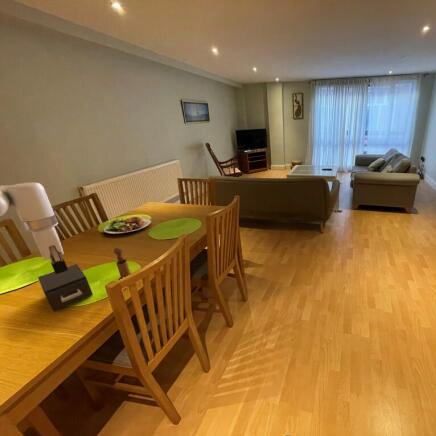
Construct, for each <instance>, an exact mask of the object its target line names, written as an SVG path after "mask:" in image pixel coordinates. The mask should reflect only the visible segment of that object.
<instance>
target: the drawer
mask: <svg viewBox="0 0 436 436" xmlns="http://www.w3.org/2000/svg"><path fill="white" fill-rule="evenodd" d="M47 295H48V297H49V299H50V301H51V303H52V305H53V307H54V309H55V310H56V311H58V309H59V310H61V309H63V308H66V307H68V306H70V305H72V303H73V304H75V303H77V302H76V301H78V302H80V301H82V300H84V298H85V299H87V298H89V297H91V293H90V290H89V288H88V285H87V283H86V280H85V279H83V280H79V281H77V282H74V283H72V284H70V285H67V286H64V287H62V288H58V289H55V290H53V291H50V292H49V293H47ZM88 296H89V297H88ZM86 297H87V298H86ZM81 299H82V300H81ZM79 300H80V301H79ZM74 302H75V303H74ZM69 304H70V305H69ZM67 305H68V306H67ZM65 306H66V307H65ZM62 307H63V308H62ZM60 308H61V309H60Z"/></svg>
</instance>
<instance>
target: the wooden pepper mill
mask: <svg viewBox="0 0 436 436" xmlns="http://www.w3.org/2000/svg"><path fill="white" fill-rule="evenodd" d="M113 253H114V254H115V255H116V256H117V257H116V259H117V261H116V263H115V264H116V267H117V269H118V273H119V277H118V279H117V281H118V280H120V279H122V278H123V277H126V276H128V275H130V274H132V273H131V270H130V267H129V263H128V260H127V259H125V258H124V255H122V253H123V248H122V247H120V246H117V247H115V248H114V249H113Z"/></svg>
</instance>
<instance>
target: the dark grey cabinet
mask: <svg viewBox="0 0 436 436" xmlns="http://www.w3.org/2000/svg"><path fill="white" fill-rule="evenodd" d="M67 268H68V270H67V271H65V272H62V273H59V274H56V273H55V271H54V270H53V271H52V272H49V273H45V274H43V275H40V276H38V277H37V278H38V281H39V283H40V286H41V289H42V291H43V294H44V296H45V298H46V300H47V302H48V304H49V306H50V308H51V310H52V312H56V311H58V310H62V309H63V308H66V307H69V306H70V305H72V304H75V303H77V302H80V301H82V300H84V299H87V298H90V297H91V296H93V291H92V288H91V286H90V283H89V281H88V279H87V278H88V277H86V274H85V273H84V271H83V270H82V269H81V268H80V266H79V264H78V263H75V264H71V265H70V266H67ZM83 279H85V280H86V283H87V285H88V288H89V290H90V293H91V296H88V297H86V298H84V299H81V300H79V301H76V302H74V303H72V304H69V305H67V306H65V307H62V308H60V309H58V310H55V309H54V307H53V305H52V303H51V301H50V299H49V297H48V295H47V293H49V292H50V291H53V290H55V289H58V288H61V287H63V286H66V285H69V284H71V283H74V282H77V281H79V280H83Z"/></svg>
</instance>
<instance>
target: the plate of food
mask: <svg viewBox="0 0 436 436" xmlns="http://www.w3.org/2000/svg"><path fill="white" fill-rule="evenodd" d="M151 223H152V218H149V217H143V216H142V217H140V216H130V217H127V218H124V219H123V218H122V219H121V220H120V219H118V218H116V219H114V220H113V221H111V222H110V224H108V225H107V226H105V227H104V228H103V232H104V233H107V234H124V233H130V232H134V231H139V230H141V229H145V227H148V226H149V225H150V224H151Z"/></svg>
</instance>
